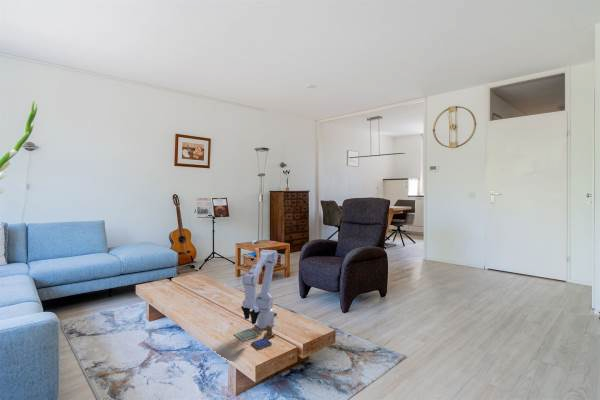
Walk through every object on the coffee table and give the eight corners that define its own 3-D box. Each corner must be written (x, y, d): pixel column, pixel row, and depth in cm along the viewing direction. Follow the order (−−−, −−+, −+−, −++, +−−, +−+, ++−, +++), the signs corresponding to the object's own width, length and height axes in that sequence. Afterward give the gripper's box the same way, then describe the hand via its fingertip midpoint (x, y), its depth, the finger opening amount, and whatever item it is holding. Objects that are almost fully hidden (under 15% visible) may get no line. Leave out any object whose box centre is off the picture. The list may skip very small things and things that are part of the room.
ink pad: (264, 339, 172) (264, 337, 172) (271, 344, 167) (271, 342, 167) (251, 344, 168) (251, 341, 167) (258, 349, 162) (258, 347, 162)
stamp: (271, 334, 179) (271, 323, 179) (274, 336, 176) (274, 325, 176) (263, 336, 176) (263, 325, 176) (267, 339, 173) (267, 328, 173)
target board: (250, 329, 185) (250, 328, 185) (259, 335, 177) (259, 334, 177) (234, 334, 178) (234, 333, 178) (242, 341, 171) (242, 340, 171)
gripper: (237, 294, 177) (237, 318, 178) (250, 301, 166) (250, 327, 166) (248, 291, 182) (249, 315, 182) (262, 298, 170) (262, 324, 171)
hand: (250, 321), depth 175 cm, fingers open, 7 cm apart
